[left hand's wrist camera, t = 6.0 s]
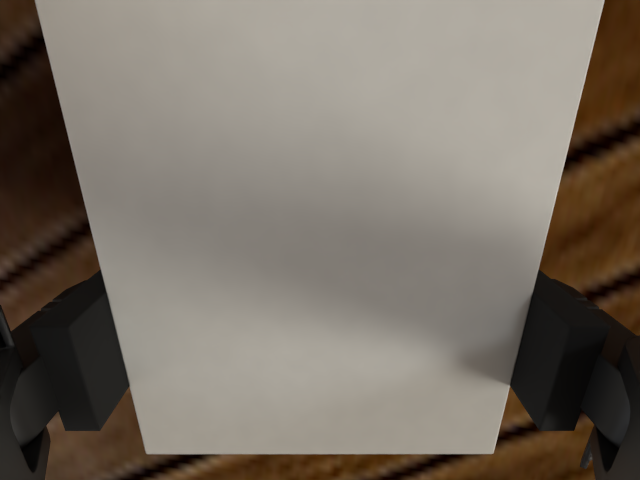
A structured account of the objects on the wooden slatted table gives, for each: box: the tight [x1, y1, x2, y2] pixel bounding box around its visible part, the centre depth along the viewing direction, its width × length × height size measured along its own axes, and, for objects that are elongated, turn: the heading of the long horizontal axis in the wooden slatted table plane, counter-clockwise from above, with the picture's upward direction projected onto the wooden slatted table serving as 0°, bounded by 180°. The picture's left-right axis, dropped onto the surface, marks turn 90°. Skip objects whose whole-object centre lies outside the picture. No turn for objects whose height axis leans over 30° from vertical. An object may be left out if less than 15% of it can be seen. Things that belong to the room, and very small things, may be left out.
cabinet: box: [35, 0, 604, 454], centre depth 12 cm, size 18×10×11 cm, turn 0°
